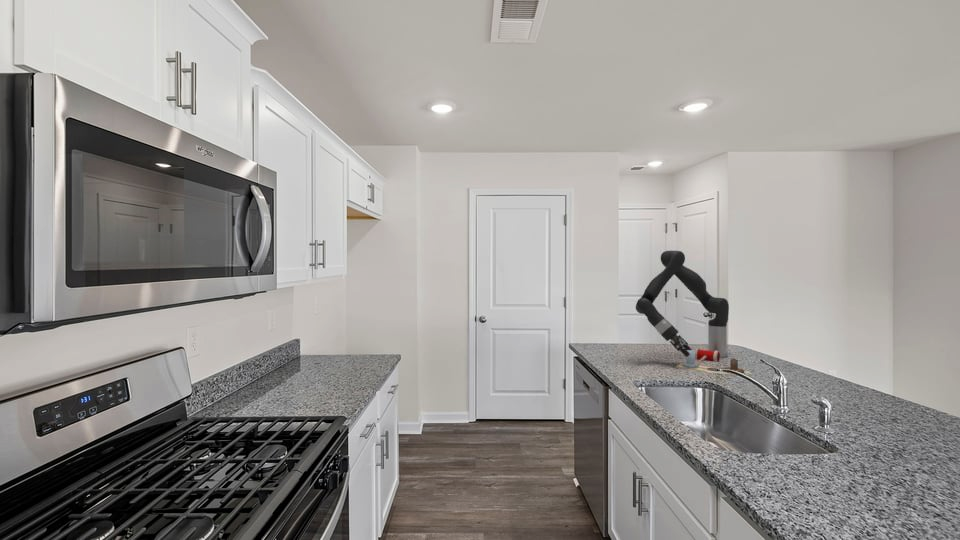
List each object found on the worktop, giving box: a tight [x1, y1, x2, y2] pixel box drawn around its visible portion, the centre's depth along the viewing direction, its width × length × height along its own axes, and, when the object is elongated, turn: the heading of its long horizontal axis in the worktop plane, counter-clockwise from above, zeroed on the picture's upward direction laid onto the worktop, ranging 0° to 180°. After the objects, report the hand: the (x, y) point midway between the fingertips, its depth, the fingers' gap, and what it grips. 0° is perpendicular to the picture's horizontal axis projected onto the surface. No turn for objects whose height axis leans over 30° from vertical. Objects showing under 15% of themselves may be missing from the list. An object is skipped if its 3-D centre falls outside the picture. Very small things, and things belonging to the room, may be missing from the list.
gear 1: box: [681, 349, 700, 368], centre depth 220 cm, size 7×7×8 cm
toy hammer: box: [693, 347, 721, 364], centre depth 233 cm, size 23×12×6 cm, turn 138°
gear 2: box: [723, 357, 745, 373], centre depth 208 cm, size 8×8×7 cm
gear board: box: [674, 362, 751, 377], centre depth 214 cm, size 13×31×1 cm, turn 54°
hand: (690, 354), depth 220 cm, fingers open, 8 cm apart
